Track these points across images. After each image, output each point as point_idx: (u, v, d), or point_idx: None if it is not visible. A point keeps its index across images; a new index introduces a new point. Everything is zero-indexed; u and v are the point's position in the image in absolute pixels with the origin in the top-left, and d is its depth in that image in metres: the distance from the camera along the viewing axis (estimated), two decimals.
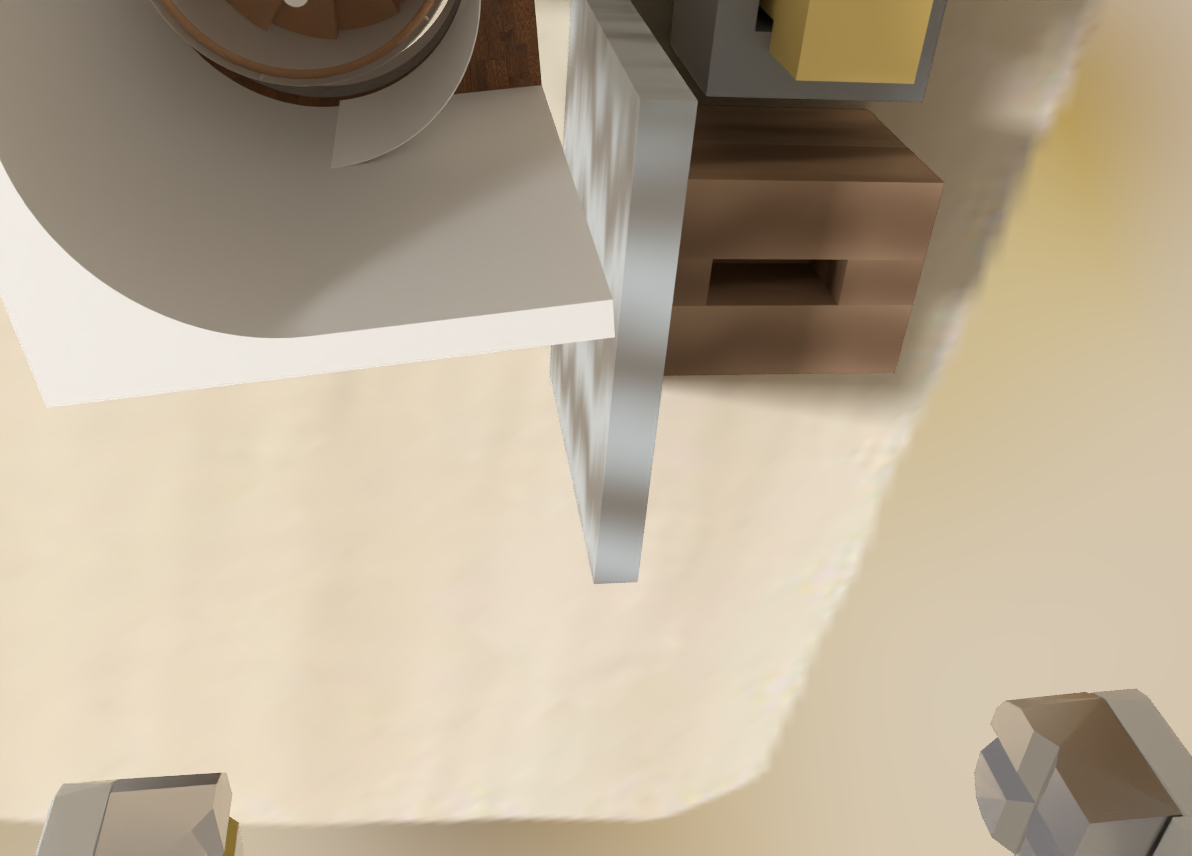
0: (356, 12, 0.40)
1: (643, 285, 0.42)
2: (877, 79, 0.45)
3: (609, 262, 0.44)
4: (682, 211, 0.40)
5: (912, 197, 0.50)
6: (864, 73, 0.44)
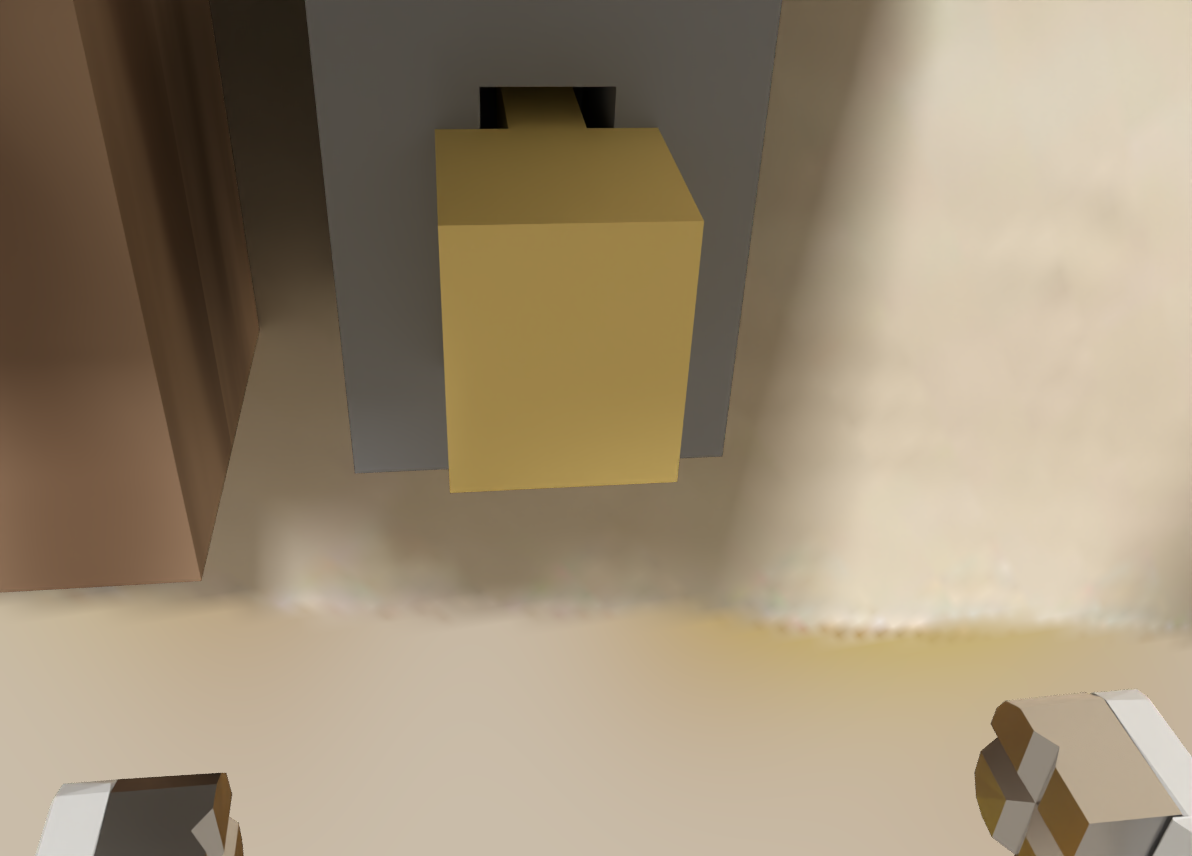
0: None
1: None
2: (454, 416, 0.18)
3: None
4: None
5: (153, 531, 0.21)
6: (467, 385, 0.18)
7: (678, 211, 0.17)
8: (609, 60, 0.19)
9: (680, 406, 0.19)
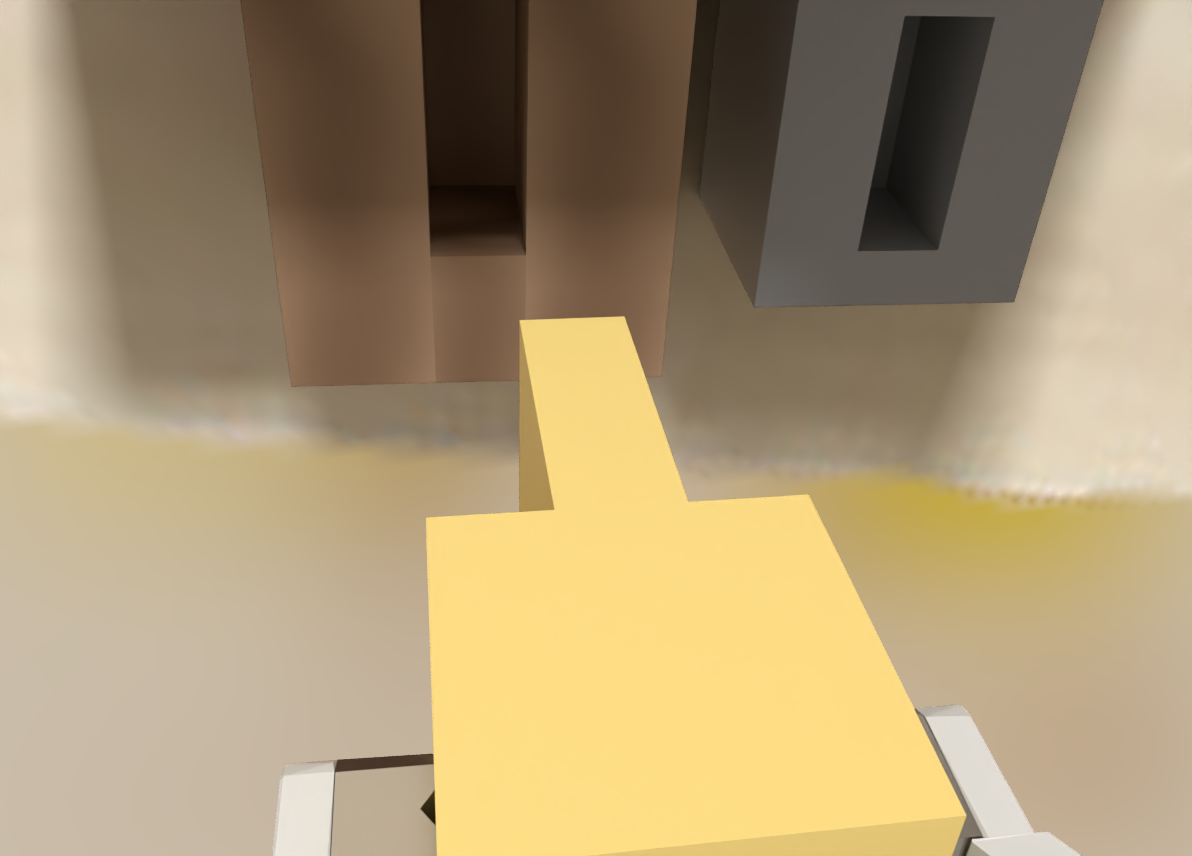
0: None
1: None
2: None
3: None
4: None
5: (640, 334, 0.30)
6: None
7: (907, 779, 0.09)
8: None
9: None
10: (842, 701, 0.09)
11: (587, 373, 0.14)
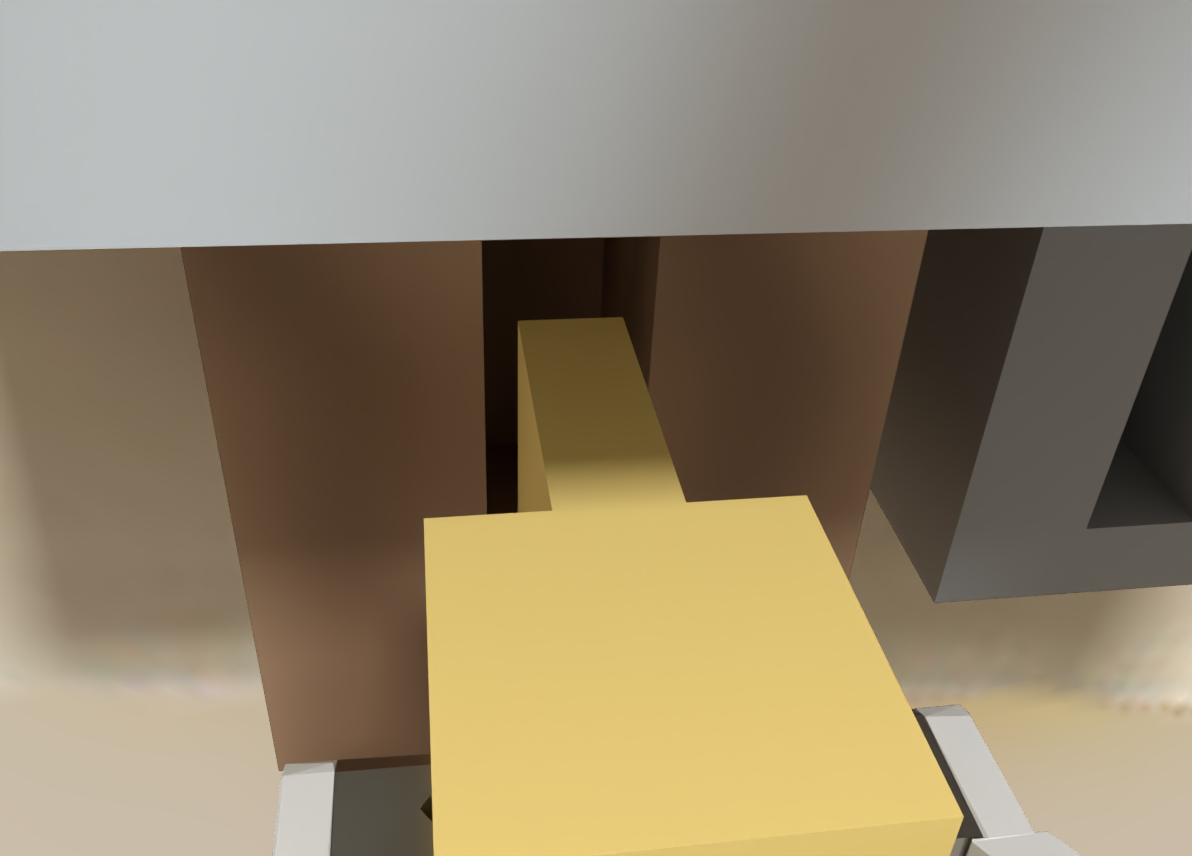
0: None
1: None
2: None
3: None
4: None
5: None
6: None
7: (905, 779, 0.09)
8: None
9: None
10: (840, 702, 0.09)
11: (586, 373, 0.14)
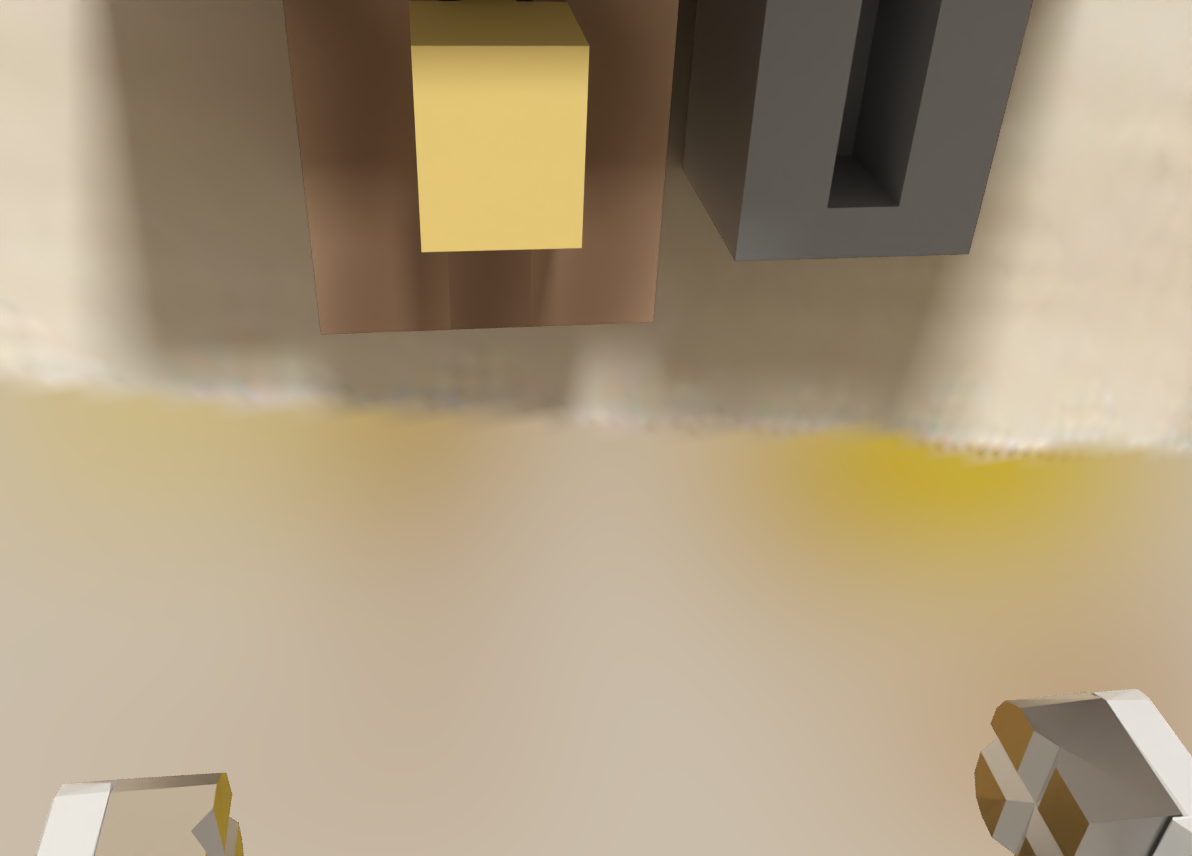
0: None
1: None
2: (423, 191, 0.27)
3: None
4: None
5: (633, 283, 0.33)
6: (432, 166, 0.26)
7: (572, 41, 0.25)
8: None
9: (580, 187, 0.27)
10: (557, 31, 0.26)
11: None
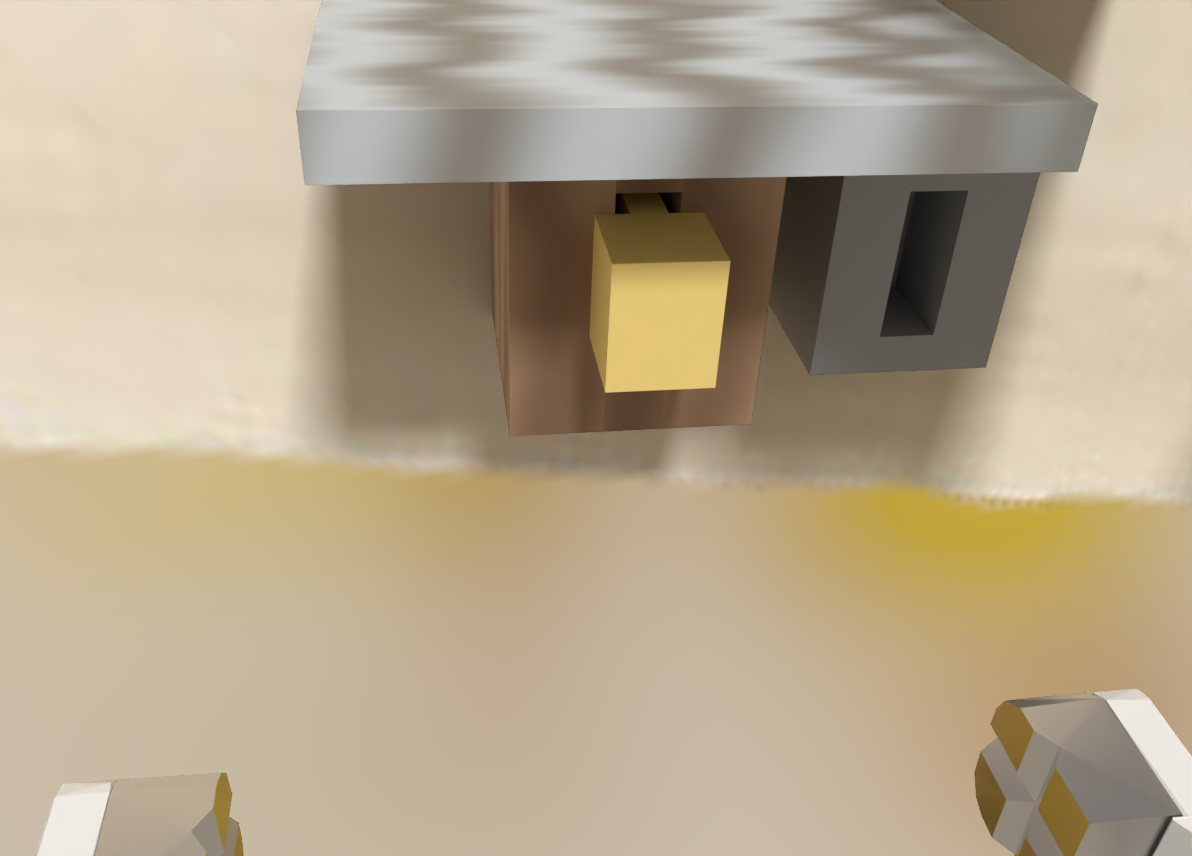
0: None
1: (854, 133, 0.31)
2: (610, 353, 0.38)
3: (809, 73, 0.33)
4: (947, 172, 0.32)
5: (738, 397, 0.45)
6: (618, 338, 0.38)
7: (718, 256, 0.37)
8: (967, 179, 0.43)
9: (717, 348, 0.39)
10: (705, 245, 0.38)
11: None
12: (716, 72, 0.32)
